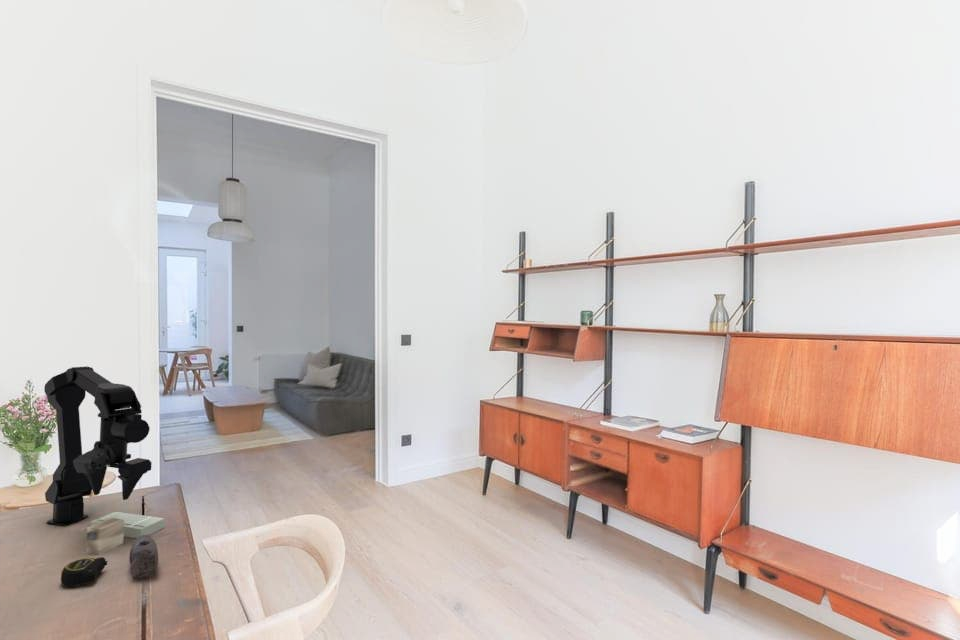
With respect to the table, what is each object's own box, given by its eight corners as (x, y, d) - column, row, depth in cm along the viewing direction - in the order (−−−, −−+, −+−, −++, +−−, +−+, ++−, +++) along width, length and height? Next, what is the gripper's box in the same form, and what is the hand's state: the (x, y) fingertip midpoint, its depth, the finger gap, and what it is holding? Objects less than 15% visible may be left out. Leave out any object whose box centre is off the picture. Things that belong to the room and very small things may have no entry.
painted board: (90, 531, 127) (90, 521, 127) (115, 520, 134) (115, 511, 134) (140, 538, 124) (141, 528, 124) (164, 527, 130) (164, 518, 130)
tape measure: (93, 587, 102) (93, 569, 102) (53, 592, 100) (54, 573, 100) (107, 571, 108) (107, 554, 108) (70, 575, 106) (71, 558, 106)
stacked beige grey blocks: (82, 554, 115) (83, 529, 115) (114, 539, 123) (114, 516, 123) (95, 556, 114) (96, 531, 114) (126, 541, 122) (127, 517, 122)
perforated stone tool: (128, 557, 114) (129, 528, 114) (155, 552, 117) (156, 523, 117) (128, 587, 102) (129, 554, 102) (158, 580, 105) (159, 548, 105)
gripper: (51, 439, 118) (48, 503, 118) (112, 448, 113) (109, 514, 113) (97, 429, 128) (94, 488, 129) (154, 437, 124) (151, 497, 124)
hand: (111, 497), depth 123 cm, fingers open, 9 cm apart
